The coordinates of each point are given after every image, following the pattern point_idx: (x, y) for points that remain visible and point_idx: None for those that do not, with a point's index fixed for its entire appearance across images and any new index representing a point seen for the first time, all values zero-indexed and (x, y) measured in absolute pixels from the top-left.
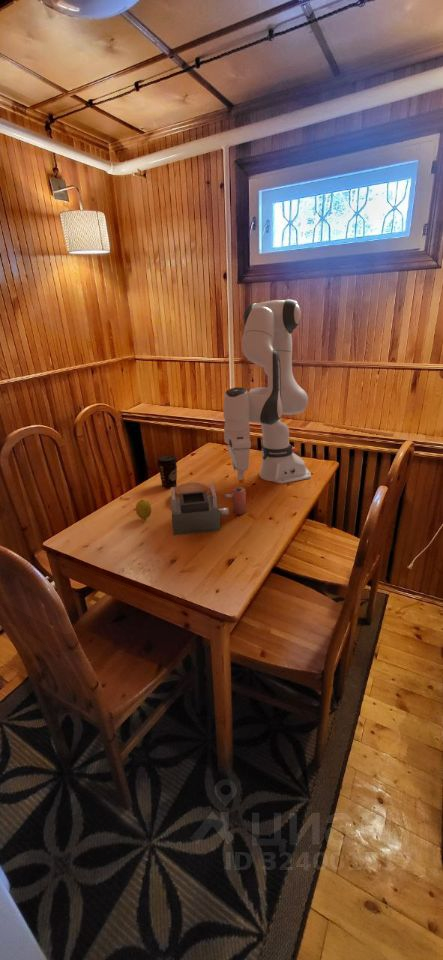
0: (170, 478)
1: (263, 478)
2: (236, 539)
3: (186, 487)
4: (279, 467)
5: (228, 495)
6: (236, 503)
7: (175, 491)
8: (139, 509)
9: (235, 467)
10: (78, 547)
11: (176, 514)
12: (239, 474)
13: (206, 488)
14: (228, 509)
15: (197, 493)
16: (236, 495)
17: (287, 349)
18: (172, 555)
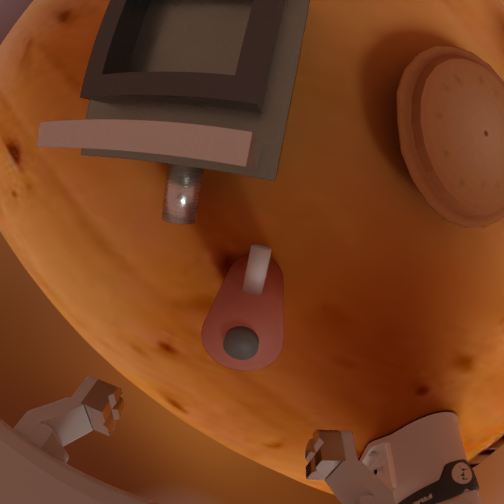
0: None
1: (424, 418)
2: (76, 194)
3: (495, 123)
4: (391, 477)
5: (249, 266)
6: (225, 282)
7: (477, 66)
8: None
9: (316, 451)
10: None
11: None
12: (66, 405)
13: (466, 211)
14: (164, 219)
15: (243, 42)
16: (214, 304)
17: None
18: (83, 9)
